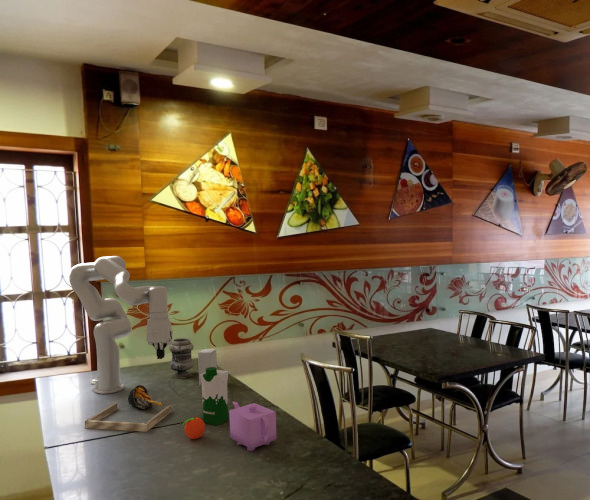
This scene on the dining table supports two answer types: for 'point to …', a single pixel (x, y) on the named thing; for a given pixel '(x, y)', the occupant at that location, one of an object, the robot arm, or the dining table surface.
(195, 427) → the clementine
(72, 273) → the robot arm
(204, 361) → the skincare box
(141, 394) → the fried shrimp in bowl
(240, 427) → the teapot
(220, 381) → the milk carton
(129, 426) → the serving frame
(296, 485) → the dining table surface
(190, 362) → the apothecary jar
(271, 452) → the dining table surface
